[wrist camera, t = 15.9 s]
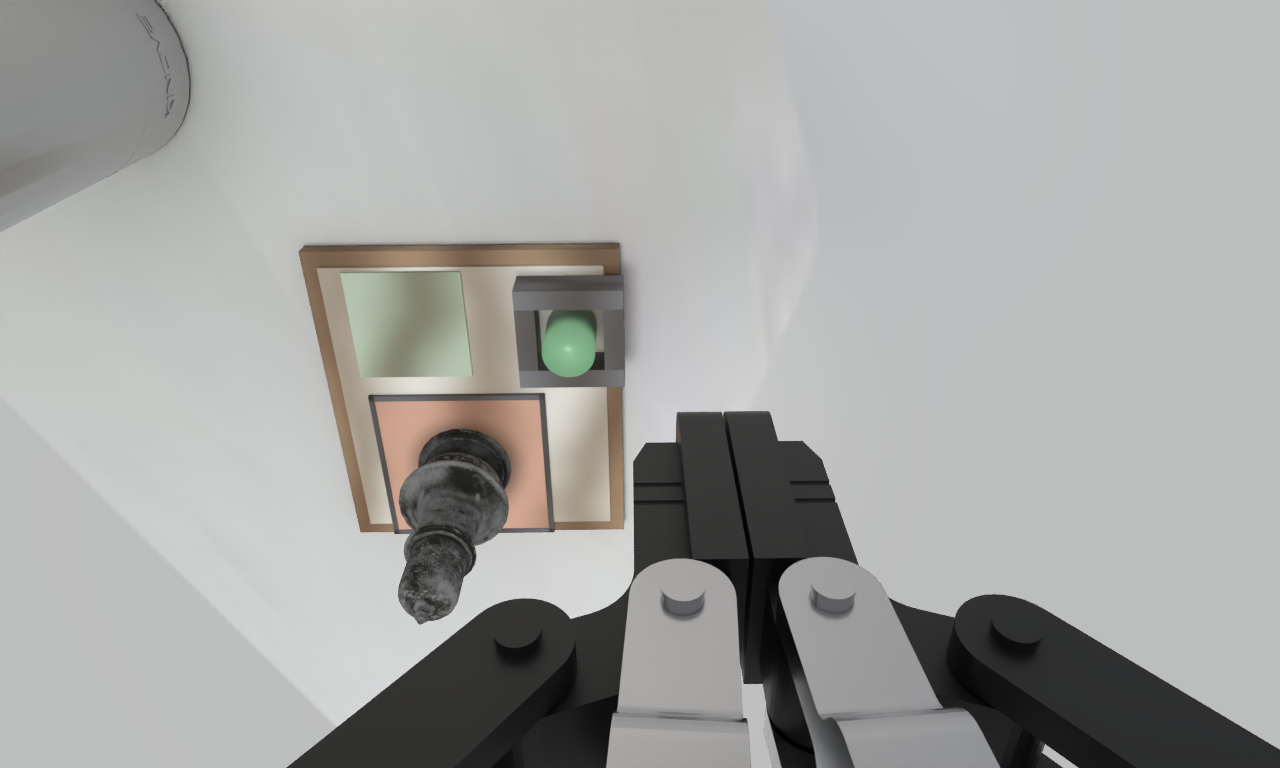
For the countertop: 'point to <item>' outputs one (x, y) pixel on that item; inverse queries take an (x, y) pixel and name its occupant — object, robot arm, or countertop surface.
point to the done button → (569, 342)
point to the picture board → (473, 371)
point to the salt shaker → (450, 517)
